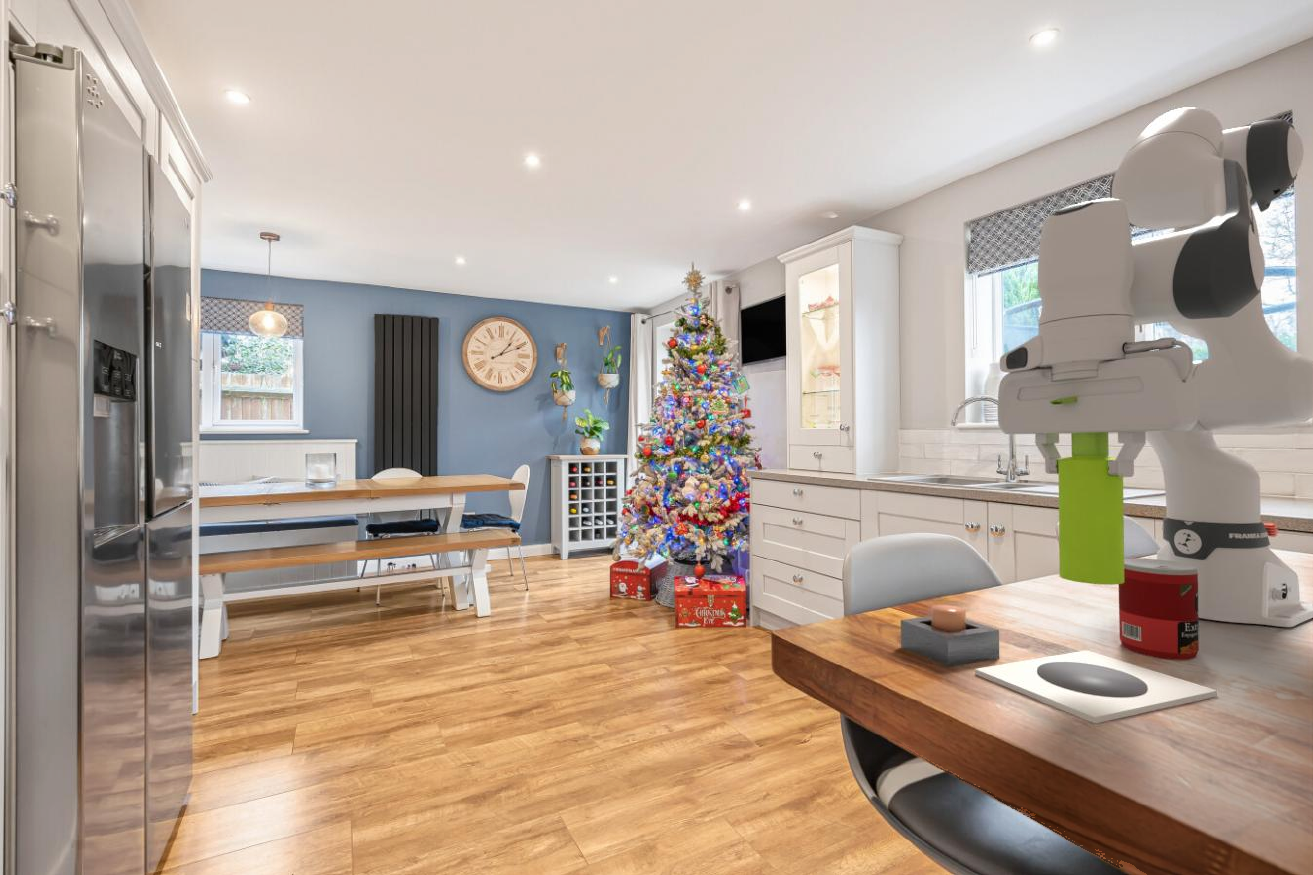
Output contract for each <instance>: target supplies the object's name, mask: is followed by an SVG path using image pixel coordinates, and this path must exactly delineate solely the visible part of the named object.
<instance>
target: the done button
mask: <svg viewBox="0 0 1313 875" xmlns="http://www.w3.org/2000/svg"><path fill="white" fill-rule="evenodd" d="M966 613H967V612H966V609H965V608H963V607H960V606H956V605H949V604H948V605H947V604H938V605H937V604H935V605H932V606H931V607H930V616H931V627H934V628H937V629H940V630H943V631H945V632H955V631H962V630H966V620H967V619H966V618H967V614H966Z"/></svg>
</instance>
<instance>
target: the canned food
mask: <svg viewBox="0 0 1313 875" xmlns="http://www.w3.org/2000/svg"><path fill="white" fill-rule="evenodd" d="M1118 617H1119V618H1118V622H1119V623H1118V624H1119V640H1120V643H1121V645H1122V647H1123V648H1125V649H1126V650H1128V651H1130V652H1132V653H1136V654H1139V655H1142V656H1146V657H1151V658H1157V659H1163V660H1172V661H1175V660H1176V661H1188V660H1194V659H1196V657H1197V656H1198V653H1199V651H1200V645H1199V644H1200V642H1199V641H1200V640H1199V639H1200V638H1199V637H1200V636H1199V627H1200V626H1199V618H1198V572H1197V567H1195V566H1193V565H1190V564H1186V563H1181V562H1175V561H1167V560H1158V559H1157V558H1156V559H1155V558H1138V557H1137V558H1136V557H1135V558H1131V557H1130V558H1124V583H1122V584H1118Z"/></svg>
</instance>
